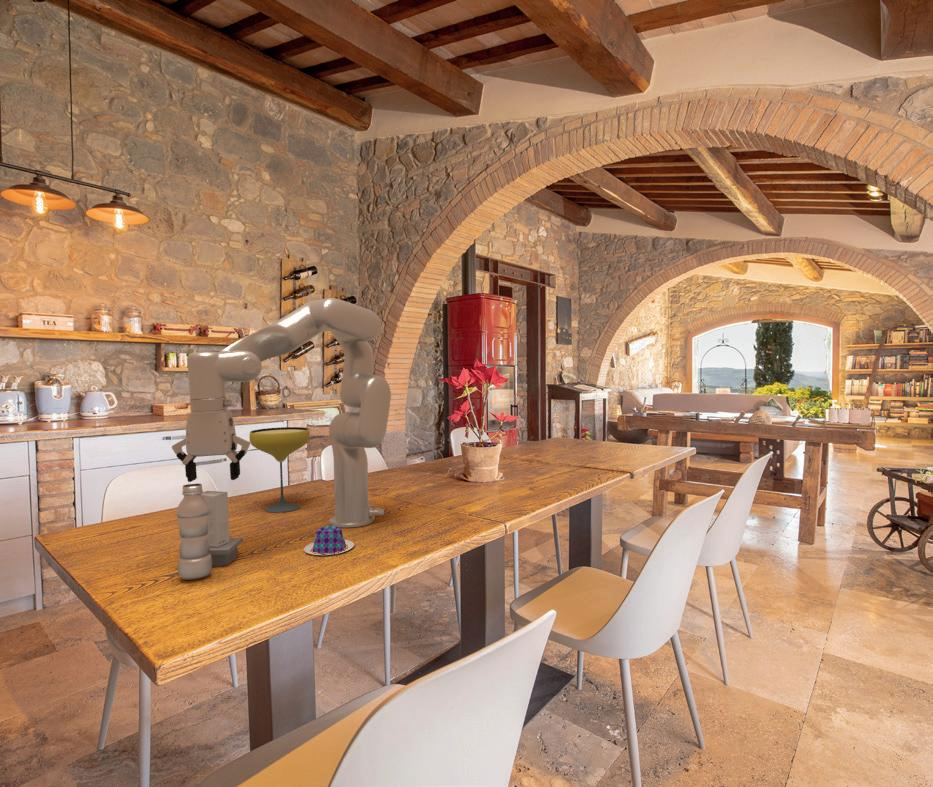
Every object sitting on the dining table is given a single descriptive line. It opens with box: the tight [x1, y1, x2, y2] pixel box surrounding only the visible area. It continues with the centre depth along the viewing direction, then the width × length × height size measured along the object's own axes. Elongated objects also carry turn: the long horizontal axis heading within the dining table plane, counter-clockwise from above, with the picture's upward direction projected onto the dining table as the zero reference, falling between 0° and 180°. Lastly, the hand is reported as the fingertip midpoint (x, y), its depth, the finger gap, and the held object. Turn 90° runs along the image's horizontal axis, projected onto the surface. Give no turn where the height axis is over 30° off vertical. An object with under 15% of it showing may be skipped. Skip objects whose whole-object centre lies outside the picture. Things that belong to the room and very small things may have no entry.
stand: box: [209, 537, 244, 567], centre depth 128 cm, size 10×9×4 cm
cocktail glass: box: [249, 426, 311, 514], centre depth 175 cm, size 18×18×25 cm
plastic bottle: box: [175, 483, 213, 581], centre depth 117 cm, size 6×7×20 cm
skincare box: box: [202, 490, 231, 547], centre depth 127 cm, size 6×4×12 cm
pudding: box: [303, 525, 355, 556], centre depth 135 cm, size 12×12×5 cm
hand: (213, 479), depth 127 cm, fingers open, 9 cm apart
